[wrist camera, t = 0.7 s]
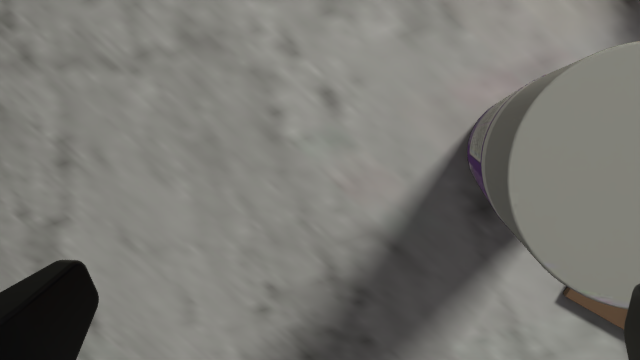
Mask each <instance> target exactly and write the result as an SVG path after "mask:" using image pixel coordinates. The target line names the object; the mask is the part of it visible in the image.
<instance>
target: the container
mask: <svg viewBox="0 0 640 360" xmlns="http://www.w3.org/2000/svg"><path fill="white" fill-rule="evenodd" d="M467 155H468V163H469V167H470V170H471V172H472V174H473V177H474V178H475V180H476V182H477V183H478V185H479V186H480V188H481V190H482V191H483V193H484V194H485V196H486V198H487V199H488V201H489V202H490V204H491V206H492V207H493V209H494V211H495V212H496V214H497V215H498V216H499V218H500V219H501V220H502V221H503V222H504V224H505V225H506V226H507V227H508V228H509V229H510V230H511V231H512V232H513V234H514V235H515V236H516V237H517V238H518V239H519V240H520V242H521V243H522V244H523V245H524V246H525V247H526V248H527V250H528V251H529V252H530V253H531V254H532V255H533V256H534V258H535V259H536V260H537V261H538V262H539V263H540V264H541V265H542V266H543V267H544V268H545V269H546V270H547V271H548V272H549V273H550V274H551V275H552V276H553V277H555V278H556V279H557V280H559V281H560V282H561V283H563V284H564V285H566V286H567V287H569V288H570V289H572V290H574V291H575V292H577V293H579V294H581V295H583V296H585V297H587V298H590V299H592V300H595V301H597V302H600V303H603V304H606V305H610V306H613V307H618V308H623V309H628V307H629V303H630V299H631V295H632V291H633V289H634V287H635V286H636V285H637V284H640V41H637V42H631V43H626V44H622V45H618V46H615V47H611V48H608V49H605V50H603V51H600V52H598V53H595V54H593V55H591V56H588V57H586V58H584V59H581V60H579V61H577V62H575V63H572V64H570V65H568V66H565V67H563V68H561V69H559V70H556V71H554V72H552V73H550V74H547V75H545V76H542V77H540V78H538V79H536V80H534V81H532V82H530V83H529V84H527V85H525V86H524V87H522V88H521V89H519V90H517V91H516V92H514V93H513V94H511V95H509V96H508V97H506V98H505V99H503V100H502V101H500V102H498V103H497V104H495V105H494V106H492V107H491V108H489V109H488V110H487V111H486V112H485V113H484V114H483V115H482V116H481V117H480V118H479V120H478V121H477V122H476V124H475V126H474V127H473V130H472V132H471V134H470V137H469V141H468V149H467Z"/></svg>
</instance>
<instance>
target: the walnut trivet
mask: <svg viewBox="0 0 640 360" xmlns="http://www.w3.org/2000/svg"><path fill="white" fill-rule="evenodd" d="M563 294H564V295H565V296H566V297H567V298H569V299H571V300H573V301H574V302H576V303H578V304H580V305H581V306H583V307H585V308H587V309H588V310H590V311H592V312H594V313H595V314H597V315H599V316H601V317H602V318H604V319H606V320H608V321H609V322H611V323H613V324H615V325H616V326H618V327H620V328H622V329H624V324H625V319H626V315H627V311H628V309H623V308H618V307H613V306H610V305H606V304H603V303H600V302H597V301H595V300H592V299H590V298H587V297H585V296H583V295H581V294H579V293H577V292H575V291H574V290H572V289H570V288H569V287H567V288H566V289H565V291H564V292H563Z"/></svg>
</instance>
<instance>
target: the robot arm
mask: <svg viewBox="0 0 640 360" xmlns="http://www.w3.org/2000/svg"><path fill="white" fill-rule="evenodd" d="M98 302H99V296H98V292H97V290H96V288H95V285H94V283H93V281H92V279H91V277H90V275H89V272H88V270H87V268H86V266H85V265H84V264H83V263H82V262H81V261H78V260H59V261H56V262H54V263H52V264H50V265H49V266H47V267H45V268H43V269H41V270H40V271H38V272H36V273H34V274H32V275H31V276H29V277H27V278H25V279H24V280H22V281H20V282H18V283H16V284H15V285H13V286H11V287H9V288H7V289H6V290H4V291H2V292H0V360H76V359H77V356H78V354H79V351H80V349H81V346H82V344H83V341H84V339H85V336H86V334H87V332H88V329H89V327H90V324H91V322H92V319H93V317H94V314H95V312H96V309H97V307H98ZM624 337H625V343H626V348H627V353H628V358H629V360H640V284H637V285H636V286H635V287H634V289H633V291H632V295H631V299H630V303H629V307H628V311H627V315H626V319H625V324H624Z"/></svg>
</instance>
